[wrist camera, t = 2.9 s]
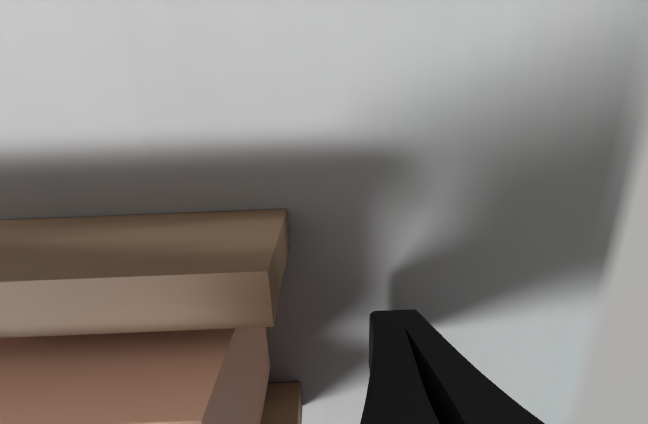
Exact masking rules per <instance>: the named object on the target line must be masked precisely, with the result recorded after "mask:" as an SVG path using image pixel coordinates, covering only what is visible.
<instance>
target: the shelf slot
mask: <svg viewBox="0 0 648 424" xmlns="http://www.w3.org/2000/svg"><path fill="white" fill-rule="evenodd" d="M289 248H290V245H289V233H288V220H287V209H268V210H243V211H218V212H192V213H167V214H141V215H116V216H90V217H65V218H39V219H14V220H0V338H10V337H35V336H59V335H84V334H108V333H133V332H157V331H182V330H206V329H231V328H255V327H274V323H275V318H276V313H277V308H278V303H279V298H280V293H281V288H282V283H283V278H284V273H285V268H286V263H287V258H288V253H289ZM301 422H302V398H301V385H300V382H288V383H268V385H267V390H266V396H265V402H264V407H263V413H262V418H261V424H301Z"/></svg>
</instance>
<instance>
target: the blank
mask: <svg viewBox="0 0 648 424" xmlns="http://www.w3.org/2000/svg"><path fill="white" fill-rule="evenodd" d="M269 374H270V361H269V353H268V344H267V336H266V327H255V328H231V329H206V330H182V331H157V332H133V333H108V334H84V335H59V336H35V337H10V338H0V424H261V418H262V413H263V407H264V402H265V396H266V390H267V385H268V379H269Z"/></svg>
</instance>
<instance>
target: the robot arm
mask: <svg viewBox="0 0 648 424" xmlns="http://www.w3.org/2000/svg"><path fill="white" fill-rule="evenodd" d="M369 368H370V378H369V384H368V390H367V396H366V401H365V405H364V410H363V414H362V419H361V423H360V424H544V423H543V422H542V421H540V420H539V419H538V418H536V417H535V416H534V415H532V414H531V413H530V412H528V411H527V410H526V409H524V408H523V407H522V406H521V405H519V404H518V403H517V402H516V401H514V400H513V399H512V398H510V397H509V396H508V395H507V394H506V393H504V392H503V391H502V390H501V389H500V388H498V387H497V386H496V385H495V384H494V383H493V382H491V381H490V380H489V379H488V378H487V377H485V376H484V375H483V374H482V373H481V372H480V371H479V370H477V369H476V368H475V367H474V366H473V365H472V364H471V363H470V362H469V361H468V360H467V359H466V358H464V357H463V356H462V355H461V354H460V353H459V352H458V351H457V350H456V349H455V348H454V347H453V346H452V345H451V344H450V343H449V342H448V341H447V340H446V339H445V338H444V337H443V336H442V335H441V334H440V333H439V332H438V331H437V330H436V329H435V328H434V327H433V326H432V325H431V324H430V323H429V322H428V321H427V320H426V319H425V318H424V317H423V316H422V315H421V314H420V313H419V312H418V311H416V310H391V311H373V312H372V313H371V314H370V328H369Z"/></svg>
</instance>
